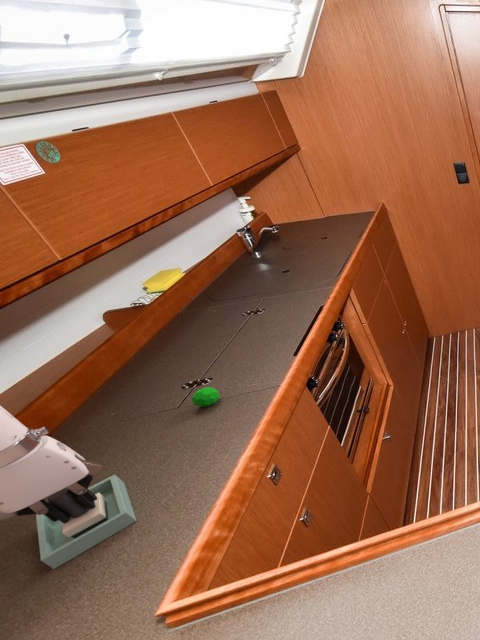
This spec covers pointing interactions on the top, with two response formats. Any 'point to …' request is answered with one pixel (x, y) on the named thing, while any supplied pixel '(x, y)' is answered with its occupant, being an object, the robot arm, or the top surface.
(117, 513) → the tray
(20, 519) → the top surface
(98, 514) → the brush
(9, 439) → the robot arm
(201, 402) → the polyhedron
